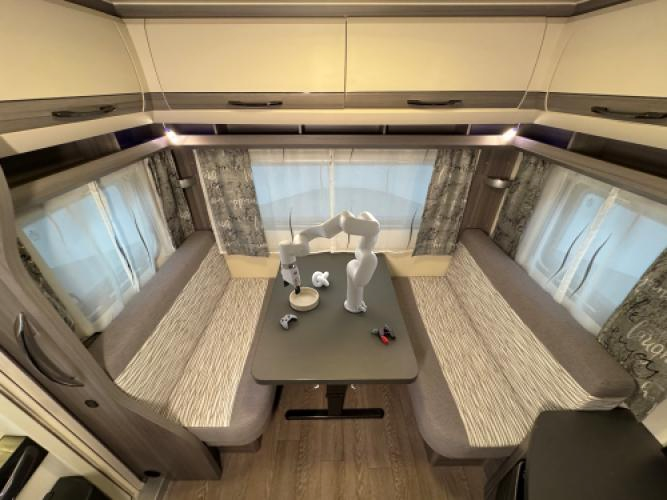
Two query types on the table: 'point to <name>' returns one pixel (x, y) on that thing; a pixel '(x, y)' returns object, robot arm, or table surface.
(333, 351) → the table surface
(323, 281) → the white knot sculpture
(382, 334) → the toy gun
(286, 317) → the game controller
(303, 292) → the bowl
